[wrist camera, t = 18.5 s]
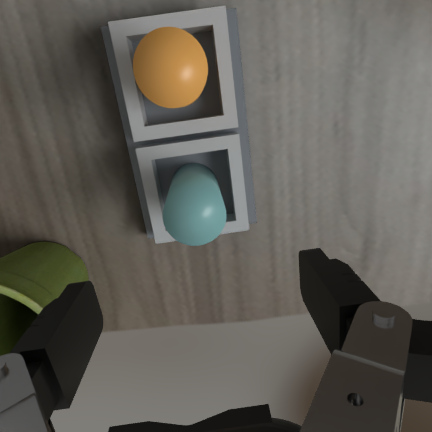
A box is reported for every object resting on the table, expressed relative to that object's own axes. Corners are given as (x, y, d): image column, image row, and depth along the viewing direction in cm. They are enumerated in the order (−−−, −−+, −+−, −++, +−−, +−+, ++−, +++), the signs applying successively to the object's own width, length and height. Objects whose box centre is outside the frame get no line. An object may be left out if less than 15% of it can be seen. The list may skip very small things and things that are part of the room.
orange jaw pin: (147, 55, 24) (125, 32, 16) (199, 47, 24) (202, 21, 16) (157, 110, 25) (141, 113, 18) (207, 103, 25) (212, 102, 18)
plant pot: (135, 299, 32) (106, 396, 21) (31, 340, 33) (-48, 452, 22) (75, 195, 28) (2, 250, 17) (-42, 243, 29) (-179, 324, 18)
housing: (104, 29, 24) (92, 19, 21) (234, 11, 24) (239, -1, 21) (149, 234, 30) (144, 248, 27) (254, 219, 30) (261, 230, 27)
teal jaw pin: (167, 166, 27) (156, 190, 19) (214, 159, 27) (222, 180, 19) (175, 211, 28) (168, 249, 20) (220, 204, 28) (230, 240, 21)
